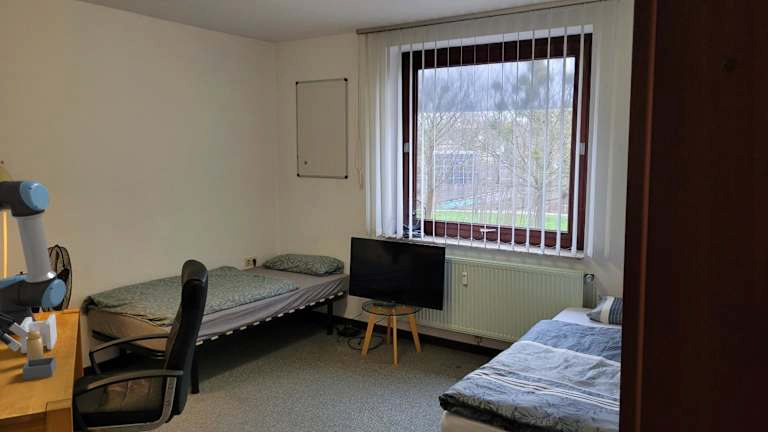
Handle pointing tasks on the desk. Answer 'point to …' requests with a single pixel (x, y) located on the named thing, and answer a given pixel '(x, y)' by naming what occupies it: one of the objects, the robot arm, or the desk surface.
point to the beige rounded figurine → (34, 345)
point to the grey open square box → (39, 368)
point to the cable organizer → (41, 331)
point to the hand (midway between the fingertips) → (23, 342)
